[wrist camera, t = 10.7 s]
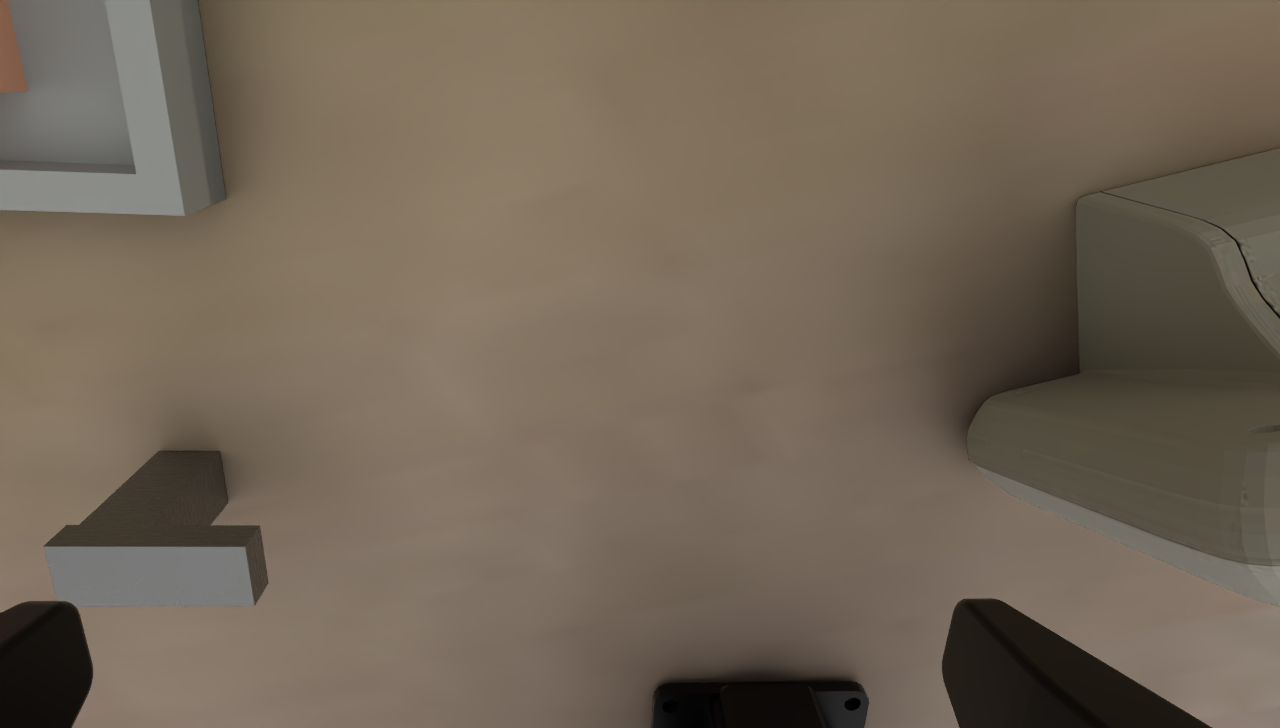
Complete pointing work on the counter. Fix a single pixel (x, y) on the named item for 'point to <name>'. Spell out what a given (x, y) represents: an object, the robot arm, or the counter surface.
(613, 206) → the counter surface
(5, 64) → the salmon slotted frame
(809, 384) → the counter surface
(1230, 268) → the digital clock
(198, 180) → the tray
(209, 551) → the gray t-shaped block
